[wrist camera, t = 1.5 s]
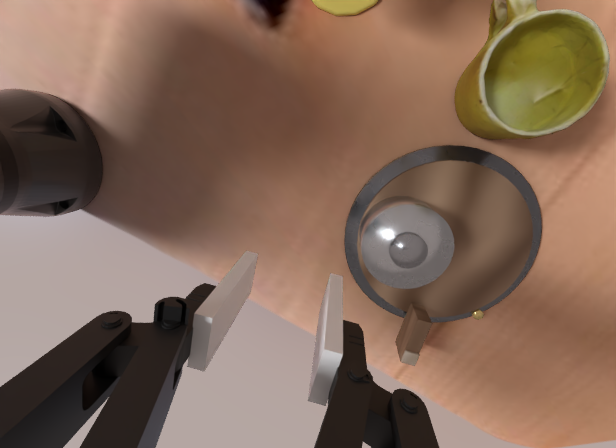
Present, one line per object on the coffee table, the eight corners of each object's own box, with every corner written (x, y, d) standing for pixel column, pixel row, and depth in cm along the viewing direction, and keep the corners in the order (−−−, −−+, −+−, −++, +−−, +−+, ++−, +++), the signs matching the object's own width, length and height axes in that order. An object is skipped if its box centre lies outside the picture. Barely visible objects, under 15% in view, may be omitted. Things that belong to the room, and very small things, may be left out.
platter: (330, 319, 39) (328, 343, 35) (385, 141, 32) (392, 142, 27) (471, 358, 38) (488, 386, 34) (560, 184, 31) (596, 192, 27)
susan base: (325, 295, 39) (324, 301, 38) (374, 123, 32) (376, 123, 31) (488, 339, 38) (494, 347, 37) (575, 173, 31) (586, 174, 30)
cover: (350, 258, 35) (351, 279, 30) (372, 186, 32) (377, 196, 27) (423, 278, 35) (437, 302, 30) (452, 207, 32) (472, 220, 27)
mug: (573, 140, 29) (628, 120, 20) (456, 155, 33) (458, 145, 24) (571, 8, 28) (628, -76, 19) (451, 43, 32) (450, -11, 23)
